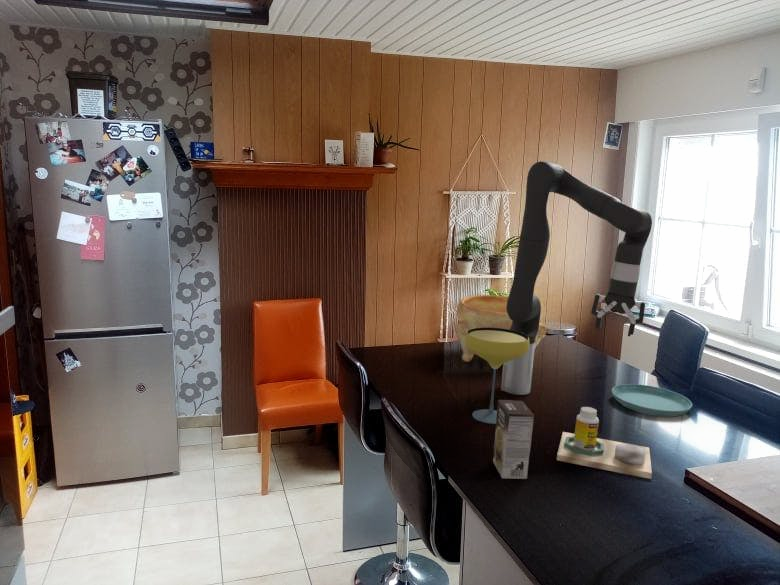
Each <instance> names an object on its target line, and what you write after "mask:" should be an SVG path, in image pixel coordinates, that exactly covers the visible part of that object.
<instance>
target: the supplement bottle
mask: <svg viewBox="0 0 780 585" xmlns="http://www.w3.org/2000/svg"><path fill="white" fill-rule="evenodd" d="M579 412H580V413H579V414H577V415H576V420H575V429H574V434H575V435H574V445H575V446H576V447H577V448H579V449H584V450H593V449H595V447H596V441H597V438H598V433H599V432H598V431H599V423H600V420H599V417H598V416H597V415H598V414H597V413H598V410H597V409H596V408H593V407H591V406H581V407H580V411H579Z"/></svg>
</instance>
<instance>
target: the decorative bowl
mask: <svg viewBox="0 0 780 585" xmlns="http://www.w3.org/2000/svg"><path fill="white" fill-rule="evenodd" d="M508 297H509V296H505V295H496V294H495V295H493V294H483V295H481V294H480V295H471V296H466V297H464V298H462V299H461V300H459V303H458V304H457V307H456V317H457V319H458V321H459V322H458V323H456V324H454V326H453V328H454V329H456V334H457V340H458V341H459V342H460V347H461V349H462V354H461V355H462V356H461V358H462V361H463V362H466V363H469V362H471V361H472V359H473V357H474V356H475V355H476V354H475V353H473V352H472V351H471V350H470V349H469V348H468V347H467V345H466V334H467V332H468V331H469V330H471V329H474V328H502V329H510V327H511V325H512V322H513V321H512V320H511V319H510V318H509V316H508V314H507V310H506V306H507V301H508ZM546 334H547V326H546V325H545V324H543V323H541V322H539V329H538V333H537V335H536V339H535V348H534V351H535V350H536V347H537V346H538V345H539V344H540V343H541V339H544V338H545V336H546Z"/></svg>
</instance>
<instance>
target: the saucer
mask: <svg viewBox="0 0 780 585" xmlns="http://www.w3.org/2000/svg"><path fill="white" fill-rule="evenodd" d="M611 392H612V393H611V394H612V395H613V397H614V398H615V400H616V402H618V403H619V404H620V405H622V406H623V407H624V408H626V409H629V410H632V411H634V412H637V413H640V414H644V415H648V416H655V417H670V418H671V417H678V416H681V415H684V414H686V413H687V412H689V411H690V410H691V409H692V407H693V403H692V401H691V400H690V399H689V398H688V397H686V396H684V395H682V394H680V393H677V392H675V391H672V390H669V389H666V388H662V387H657V386H654V385H647V384H646V385H645V384H637V383H636V384H635V383H628V384H627V383H625V384H624V383H623V384H618V385H615V386H613V387H612V389H611Z"/></svg>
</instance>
